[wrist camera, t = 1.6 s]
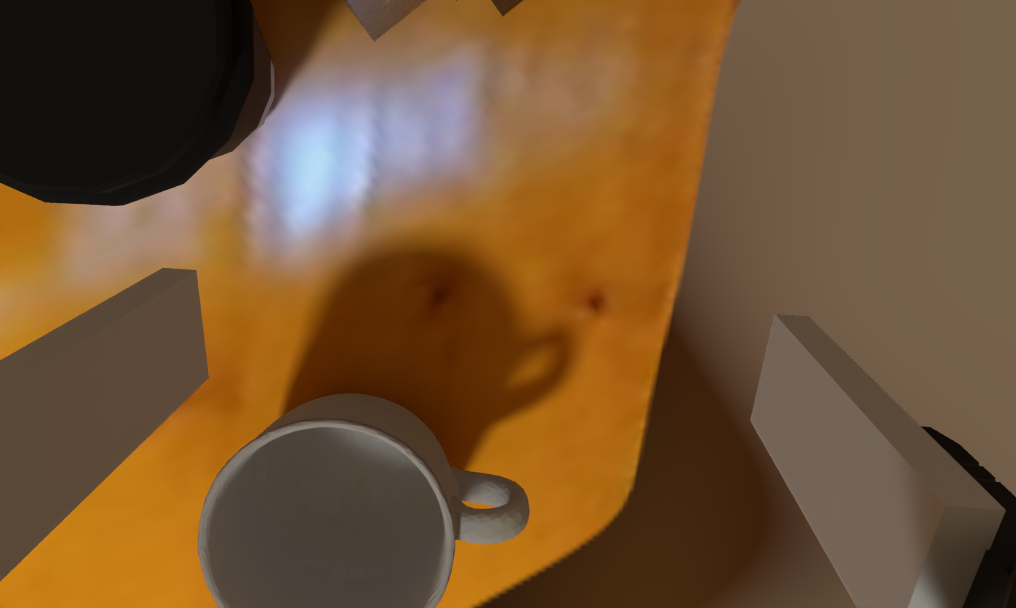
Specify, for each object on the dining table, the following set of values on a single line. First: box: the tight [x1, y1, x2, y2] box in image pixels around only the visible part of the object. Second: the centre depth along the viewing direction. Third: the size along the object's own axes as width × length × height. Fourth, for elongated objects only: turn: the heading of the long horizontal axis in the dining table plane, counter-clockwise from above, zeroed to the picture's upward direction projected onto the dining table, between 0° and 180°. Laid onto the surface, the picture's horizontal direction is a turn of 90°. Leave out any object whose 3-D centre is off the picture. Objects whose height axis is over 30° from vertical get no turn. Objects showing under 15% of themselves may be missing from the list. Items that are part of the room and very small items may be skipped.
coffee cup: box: [0, 0, 274, 206], centre depth 25 cm, size 11×11×12 cm
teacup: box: [198, 393, 529, 608], centre depth 31 cm, size 14×11×8 cm
